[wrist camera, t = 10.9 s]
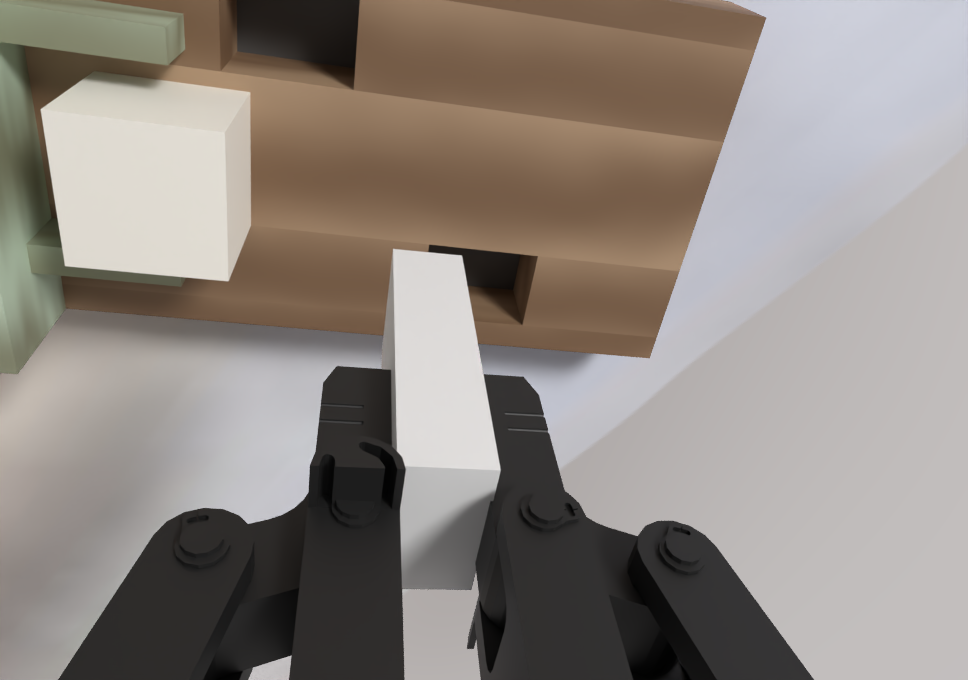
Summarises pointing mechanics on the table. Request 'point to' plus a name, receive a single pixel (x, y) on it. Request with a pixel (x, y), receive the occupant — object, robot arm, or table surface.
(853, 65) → the table surface
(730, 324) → the table surface
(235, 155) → the ivory block
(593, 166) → the board
